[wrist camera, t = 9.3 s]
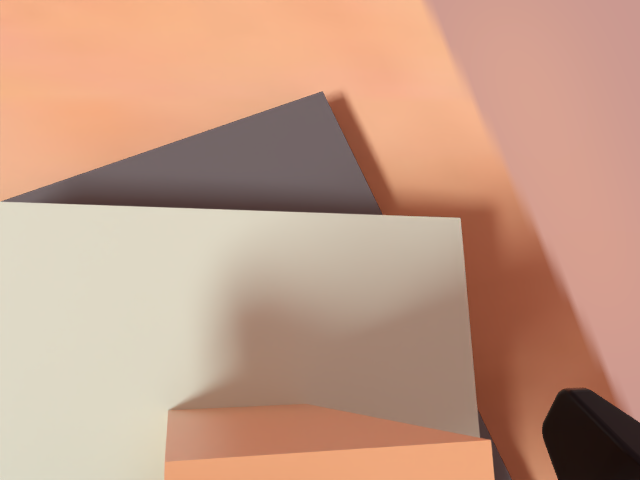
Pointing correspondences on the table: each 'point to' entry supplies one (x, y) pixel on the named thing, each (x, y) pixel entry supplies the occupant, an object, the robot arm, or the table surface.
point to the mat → (241, 176)
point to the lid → (234, 346)
